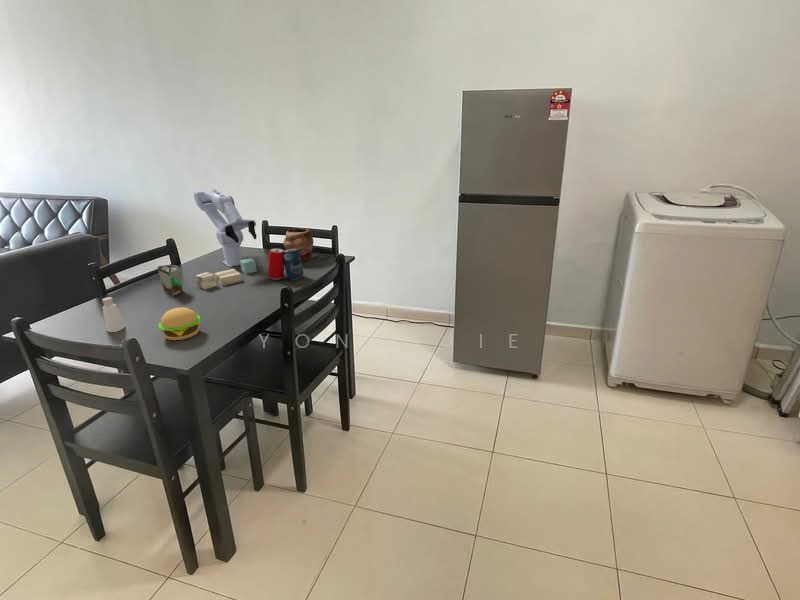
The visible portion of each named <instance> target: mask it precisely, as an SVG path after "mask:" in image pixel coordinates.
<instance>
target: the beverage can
mask: <svg viewBox="0 0 800 600" xmlns="http://www.w3.org/2000/svg"><path fill="white" fill-rule="evenodd" d="M283 250H284V249H283V248H279V247H278V248H277V247H275V248H271V249H270V251H269V253H268V266H267V267H268V268H267V269H268V270H267V271H268V273H267V275H268V276H267V277H268V278H270V279H271V280H274V281H275V280H276V281H278V280H281V279H283V278H284V276H285V265H284V260H283Z"/></svg>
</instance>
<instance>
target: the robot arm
mask: <svg viewBox="0 0 800 600" xmlns="http://www.w3.org/2000/svg"><path fill="white" fill-rule="evenodd" d="M193 197H194V201H195V203H196V205H197V207H198V208H199V209H200V211H203V212H204V213H205V214H206V216H207V217H208V218H209V220H211V222H212V223H213V225H214V226H215V227H216V228H217V229H216V239H217V241H218V243H219V245H220V246H222V253H223V261H222V263H223V264H224V265H226V266H227V267H228V268H230V267H235V266H241V265H240V260H244V259H243V253H242V248H241V245H242V242H243V241H244V234H243V232H242V230H244V229H247V228H248V233H249V234H250V235H251V236H252V238H253V239H254V240H257V234H256V229H255V227H257V221H256V220H255V219H243V217H242V216H241V214H240V213H239V211H238V209H237V208H236V206H235V200H234V197H233V196H232V195H228V196H226V195H224V194H222V193H221V192H219V191H217V189H214V188H212V189H207V190H200V191H194V192H193ZM222 214H223V216H222ZM224 217H225V218H224Z"/></svg>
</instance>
